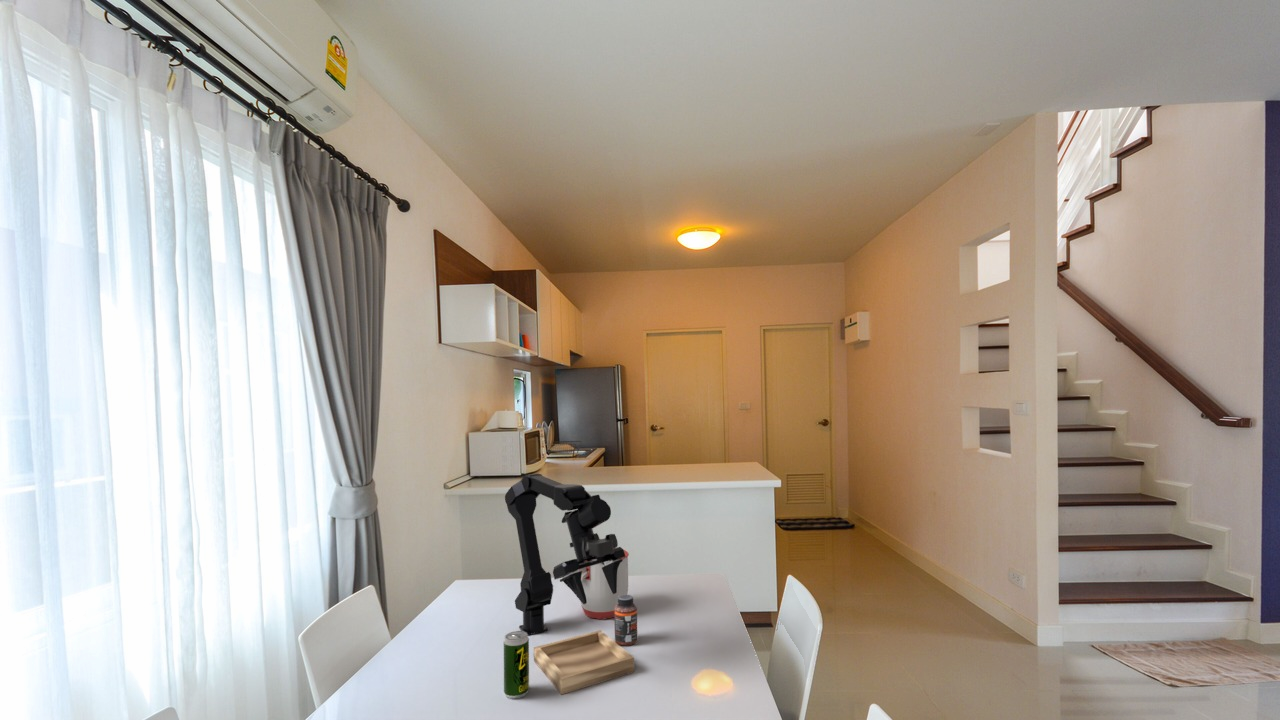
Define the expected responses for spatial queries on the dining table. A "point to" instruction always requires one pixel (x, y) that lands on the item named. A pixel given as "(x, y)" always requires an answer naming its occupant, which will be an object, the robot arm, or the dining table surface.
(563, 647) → the wooden tray
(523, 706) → the dining table surface
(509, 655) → the beer can
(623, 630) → the supplement bottle
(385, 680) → the dining table surface
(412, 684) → the dining table surface
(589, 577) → the citrus juicer
